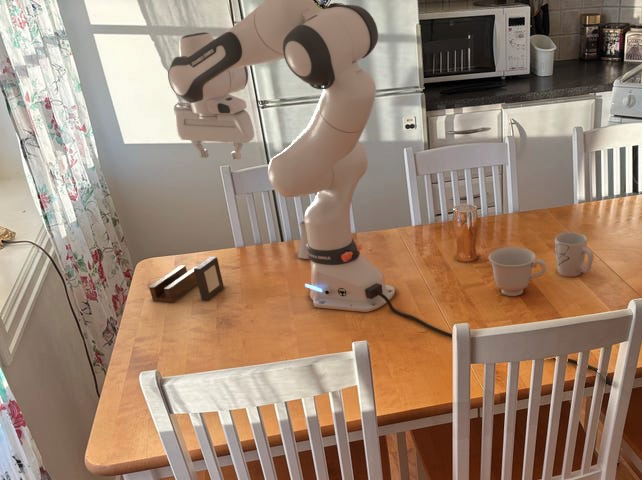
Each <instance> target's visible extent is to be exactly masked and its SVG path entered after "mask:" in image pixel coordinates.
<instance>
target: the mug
mask: <svg viewBox="0 0 642 480" xmlns="http://www.w3.org/2000/svg"><path fill="white" fill-rule="evenodd" d="M587 244H588V237H587V236H586V235H585V234H582V233H579V232H574V231H573V232H572V231H568V232H566V231H565V232H561V233H559V234H557V235H555V238H554V247H555V251H554V252H555V260H556V267H557V271H558V274H559V275H560V276H563V277H565V278H573V277H578V276H579V275H581V273H584V274H587V273H589V272H590V271H591V269H592V265H593V262H594V252H593V251H592V250H591V249H590V248H587ZM586 255H587V262H586V266H585V267H584V262H585V258H586Z"/></svg>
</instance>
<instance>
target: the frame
mask: <svg viewBox="0 0 642 480" xmlns="http://www.w3.org/2000/svg"><path fill="white" fill-rule="evenodd" d="M194 267H195V268H194ZM194 267H193V268H194V272H195V276H196V280H197V289H198V292H199V295H200V299H201V301H204V302H205V301H206V302H208V301H209V300H210V299H212V298H213V297H215V296H216V295H217V294H218V293H220V292H221V291H222V290H223V289H225V286H224V281H223V276H222V272H221V268H220V263H219V260H218V257H217V256H209V257H208V258H207V259H205V260H204V261H202V262H201V263H199V264H198V265H197V266H194Z"/></svg>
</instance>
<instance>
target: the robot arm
mask: <svg viewBox="0 0 642 480" xmlns="http://www.w3.org/2000/svg"><path fill="white" fill-rule="evenodd" d="M378 41H379V29H378V26H377V23H376V21H375V19H374V17H373V16H372V15H371V13H370V12H369V11H368V10H367V9H365V8H363V7H361V6H360V5H355V4H340V3H334V2H333V3H329V4H328V6H327V8H320V7H319V6H318V5H317V4H316V3H315V1H314V0H264V1H263V2H262V3H260V4H259V5H258V6H257V7H256V8H254V9H253V10H252V11H251V12H250V13H248V14H247V15H246V16H245V17H243V18H242V19H241V20H240V21H238V22H237V23H236V24H234V25H233V26H231V27H230V28H229V29H228V30H227V31H225V32H224V33H222V34H221V35H219V36H218V37H216V38H215V37H214V36H213V35H212V33H210V32H197V33H192V34H186V35H183V36H182V37H181V38H180V39H179V44H178V45H179V46H178V47H179V56H175V57H174V58H173V59H172V61H171V63H170V65H169V68H168V72H167V79H168V83H169V86H170V88H171V90H172V91H173V93H174V94H176V95H177V96H178V97H179V98H181V100H183V101H178V102H176V103H175V105H173V112H174V115H175V116H174V117H175V126H176V133H177V136H178V137H179V139H180V140H182V141H191V142H192V145H193V147H194V148H195V149H196V150H197V152H198V155H199V157H200V158H201V159H202V158H204V159H205V158H209V153H208V152H209V150H208V149H206V148H205V147H204V146H203V145H202V143H203V142H215V143H216V142H218V143H232V146H233V147H235V149H234V151H232V152H231V158H232V160H236V161H237V160H241V158H242V155H241V150H242V148H243V145H244V144H248V143H250V142H252V141H253V140H254V138H255V131H254V126H253V122H252V119H251V116H250V114H249V112H248V111H247V110H246V109H247V101H246V100H245V99H242V98H240V97H237V96H234V95H232V94H233V93H237V92H240V91H242V90H244V89H245V88H246V86H247V84H248V81H249V70H248V67H250V66H251V67H252V66H258V65H264V64H271V63H274V62H279V61H281V60H284V61H285V63H286V65H287V66H288V68H289V70H290V71H291V72H292V73H293V74H294V75H295V76H296V77H297V78H298V79H300V80H301V81H302V82H304V83H306V84H308V85H309V86H310V87H311V88H313V89H316V90H321V91H322V93H321V96H320V98H319V101H318V103H317V104H316V105H317V106H316V108H315V110H314V113H313V114H312V117H311V119H310V121H309V123H308V125H307V126H306V128H305V129H303V130H302V132H301V133H299V135H298V136H297V137H296V138H295V139H294V140H293V141H292V142H291V143H290V145H289V146H288V147H285V149H284V150H282V151H281V152H279V153H278V154H276V155H275V156H273V157H271V159H270V162H269V164H268V168H267V175H268V181H269V182H270V185H271V187H272V188H273V190H275V191H276V193H278V194H279V195H280V196H282V197H284V198H299V197H306V196H309V195H313V194H316V195H315V198H314V200H313V202H312V203H310V205H309V206H308V207H307V209H306V210H305V212H304V217H303V218H304V219H303V221H305V227H306V233H307V240H308V243H307V252H308V258H309V259H308V260H309V262H310V275H311V276H310V277H311V278H310V284H308V283H304V286H305V288H309V289H310V291H309V298H310V299H311V300H312V301H313V307H314V308H319V309H329V310H330V309H331V310H340V311H349V312H350V311H351V312H361V313H369V312H372V311H375V310H377V309H379V308H381V307H383V306H384V305H386V304H387V306H388V308H389V309H390V310H391V311H392V312H393V313H395V314H396V315H398V316H400V317H403V318H406V319H410V320H412V321H414V322H416V323H418V324H420V325H422V326H424V327H425V328H427V329H430V330H432V331H434V332H436V333H438V334H441V335H444V336H447V337H449V338H452V334H453V333H450V332H447V331H445V330H442V329H440V328H437V327H435V326H433V325H430V324H429V323H427V322H425V321H423V320H421V319H420V318H417V317H415V316H413V315H411V314H406V313H403V312H401V311H399V310H397V309H396V308H395V307H394V306H393V304H392V302H391V299H392V298H393V297H394V296H395V293H396V289H395V287H394V286H392V285H389V284H386V280H385V278H384V274H383V272H382V271H381V270H380V269H379V268H378V267H376V266H375V265H374V264H372V262H370V261H369V260H368V259H367V258H365V257H364V256H363V255H362V254H361V252H360V250H362V249H363V247H362V245H363V244H362V243H360V244H359V245H357V243H356V242H355V239H353V236H352V226H351V204H352V200H353V196H354V193H355V190H356V187H357V185H358V184H359V182H360V180H361V179H362V177H363V176H364V175H365V174H366V172H367V169H368V166H369V158H368V154H367V153H368V152H367V151H366V148H365V147H364V145H363V144H362V143H361V142H360V138H361V137H362V135H363V132H364V130H365V129H366V126H367V124H368V122H369V120H370V117H371V114H372V111H373V108H374V104H375V99H376V93H377V86H376V84H375V81H374V79H373V77H372V76H371V75H370V74H369V73H368V71H366V70H364V69H363V68H361V67H360V66H359V61H360V60H362V59H365V58H367V57H368V56H369V55H370V54H371V53H372V52H373V50H374V49H375V47H376V46H377V44H378ZM184 101H185V102H184ZM552 360H555V361H557V360H556V359H555V358H553V359H552ZM577 361H578V360H576V359H572V358H568V362H567V363H570V364H573V365H577ZM587 365H588V370H590V371H592V372H595V373H597V370H598V369H599V368H598V367H595V366H593V365H590V364H587ZM605 383H606V384H607V386H608V387H611V386H613V384H612V381H611V380H610V379H609V377H608V375H606V381H605Z"/></svg>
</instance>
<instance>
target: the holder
mask: <svg viewBox="0 0 642 480" xmlns="http://www.w3.org/2000/svg"><path fill="white" fill-rule="evenodd" d="M195 267H196V266H194V267H192V268H191V269H190V270H187V266H186V265H183V264H182V265H179V266H178V267H176V268H175V269H174V270H172V271H170V272H168V273H167V274H166V275H164V276H163V277H161V278H160V279H158V280H157V281H156V282H154V283H153V284H151V285H150V286H149V293H150V296H151V299H152V301H153V302H159V303H160V302H161V303H170V304H173V303H175V302H176V301H177V300H179V299H180V298H182V297H183V296H184V295H185V294H187V293H188V292H190V291H191V290H192V289H193V288H195V287H197V286H198V284H197V280H196V276H195V272H194V268H195Z"/></svg>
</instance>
